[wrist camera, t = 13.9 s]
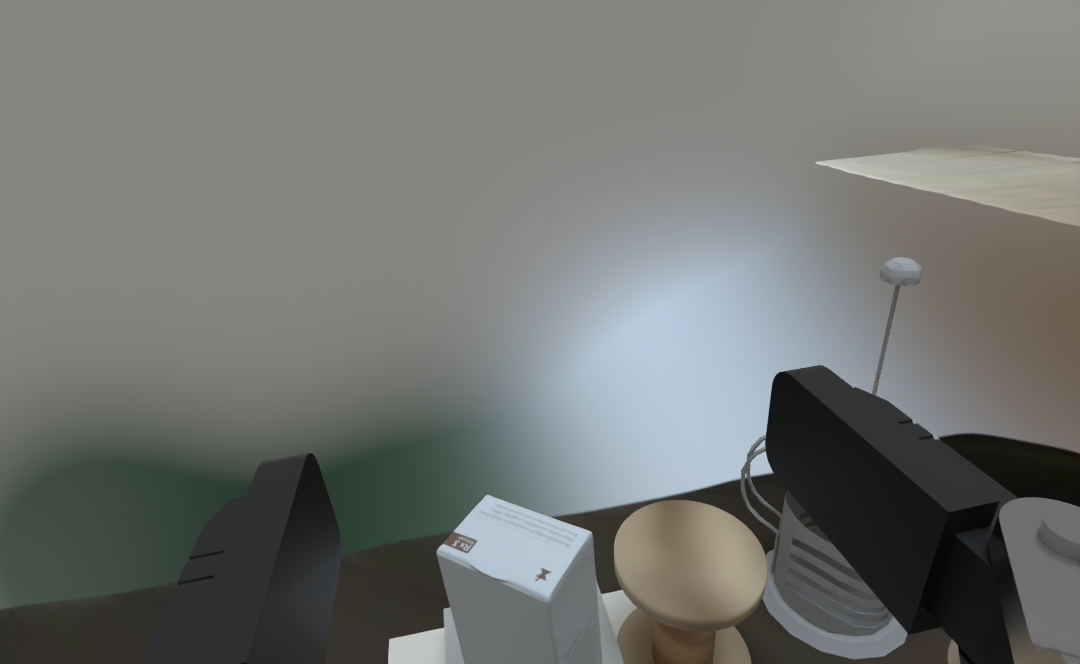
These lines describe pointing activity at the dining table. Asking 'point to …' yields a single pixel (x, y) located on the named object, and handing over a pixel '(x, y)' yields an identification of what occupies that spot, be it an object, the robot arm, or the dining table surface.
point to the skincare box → (521, 587)
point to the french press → (828, 558)
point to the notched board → (436, 637)
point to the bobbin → (687, 584)
